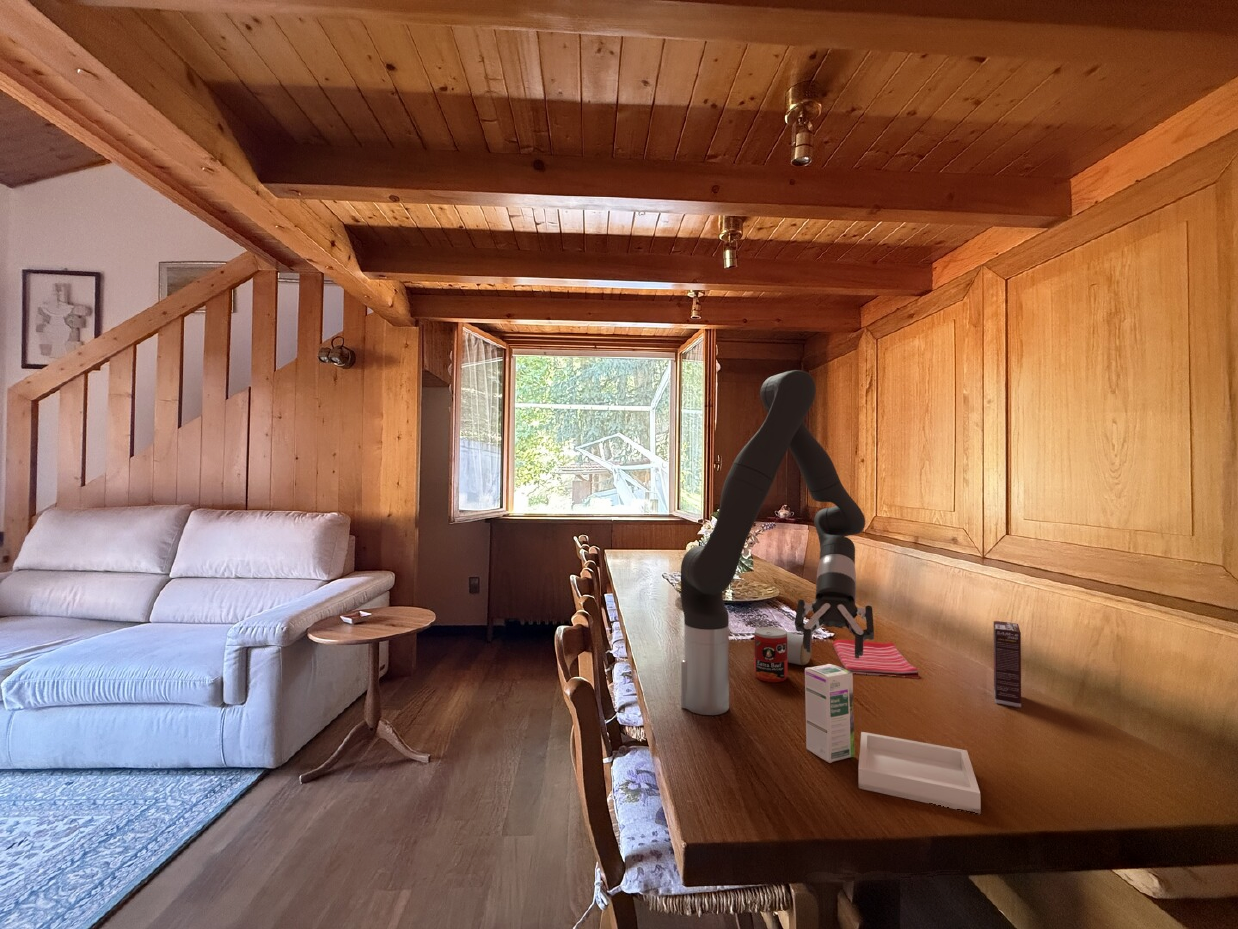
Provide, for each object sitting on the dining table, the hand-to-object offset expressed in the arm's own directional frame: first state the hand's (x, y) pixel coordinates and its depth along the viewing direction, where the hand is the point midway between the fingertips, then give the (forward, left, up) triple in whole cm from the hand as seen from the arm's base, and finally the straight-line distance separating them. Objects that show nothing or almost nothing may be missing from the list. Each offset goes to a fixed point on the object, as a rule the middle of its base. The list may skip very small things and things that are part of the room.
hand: (832, 653), depth 105 cm
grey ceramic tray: (+13, -11, -15) cm, 23 cm away
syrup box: (0, -8, -15) cm, 17 cm away
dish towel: (+6, +51, -16) cm, 53 cm away
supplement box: (+33, +34, -15) cm, 50 cm away
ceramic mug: (-13, +41, -15) cm, 46 cm away
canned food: (-16, +26, -15) cm, 35 cm away
